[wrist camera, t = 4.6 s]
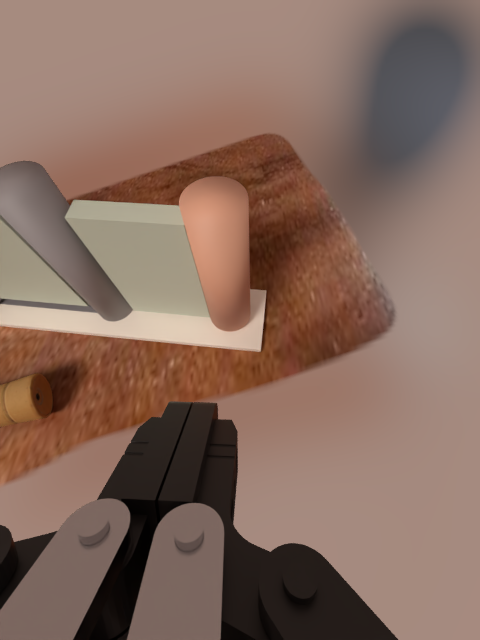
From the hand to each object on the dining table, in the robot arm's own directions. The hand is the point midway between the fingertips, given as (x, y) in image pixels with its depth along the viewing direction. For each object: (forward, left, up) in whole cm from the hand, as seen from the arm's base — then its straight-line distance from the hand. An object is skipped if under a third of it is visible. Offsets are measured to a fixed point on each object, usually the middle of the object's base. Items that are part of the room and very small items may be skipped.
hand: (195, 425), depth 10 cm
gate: (-2, +10, -9) cm, 14 cm away
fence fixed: (-13, +12, -10) cm, 20 cm away
